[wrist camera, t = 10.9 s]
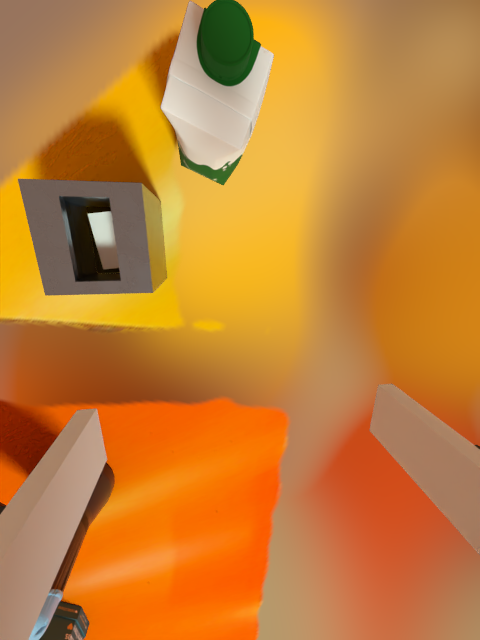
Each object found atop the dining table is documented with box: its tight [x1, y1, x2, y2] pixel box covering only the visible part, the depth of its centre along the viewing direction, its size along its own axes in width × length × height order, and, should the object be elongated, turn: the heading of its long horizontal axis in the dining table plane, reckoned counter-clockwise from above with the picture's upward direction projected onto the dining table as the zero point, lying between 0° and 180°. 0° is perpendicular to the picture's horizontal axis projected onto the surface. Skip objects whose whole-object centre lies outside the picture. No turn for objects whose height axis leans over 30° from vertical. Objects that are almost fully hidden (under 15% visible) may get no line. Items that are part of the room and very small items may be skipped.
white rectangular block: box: [88, 211, 119, 270], centre depth 36 cm, size 7×3×8 cm, turn 7°
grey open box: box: [18, 179, 167, 295], centre depth 34 cm, size 12×12×13 cm
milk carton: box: [161, 0, 274, 185], centre depth 29 cm, size 9×9×20 cm
